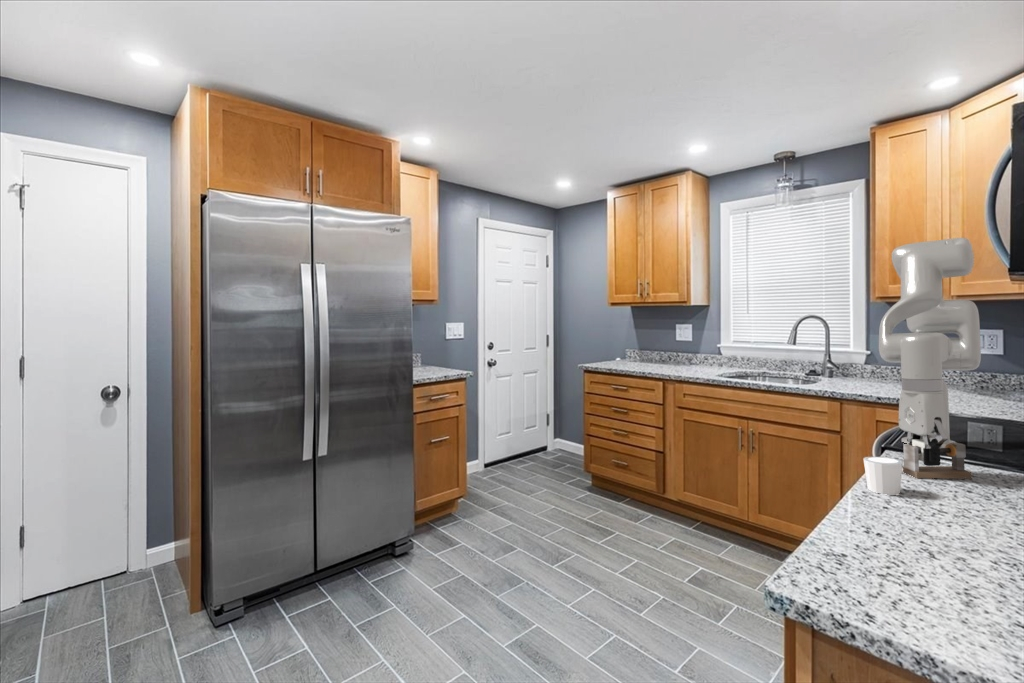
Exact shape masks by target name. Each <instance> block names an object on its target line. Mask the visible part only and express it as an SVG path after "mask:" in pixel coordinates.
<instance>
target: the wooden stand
mask: <svg viewBox="0 0 1024 683" xmlns="http://www.w3.org/2000/svg"><path fill="white" fill-rule="evenodd" d="M902 444H903V445H902V446H903V466H902V473H903V472H904V473H903V474H905V473H906V474H905V475H907V474H909V475H911V476H910V477H912V476H913V477H912V478H914V477H915V478H914V479H916V478H928V479H929V480H931V479H932V478H933V480H934V478H943V479H945V478H946V480H947V479H949V478H953V479H957V478H958V479H960V480H961V479H964V478H965V479H967V480H968V479H971V480H972V472H971V471H969V470H967V469H966V468H965V458H966V457H967V455H966V452H967V451H966V444H964V443H961V442H956V443H950V444H947V445H946V446H945V448H941V449H940V454H946V455H947V456H948V457H951V466H949V465H948V466H946V465H945V466H942V465H941V466H940V465H939V466H920V465H919V463H920V462H919V461H920V460H919V458H918V453H921V448H918V447H915V446H912V445H909V444H904V443H902ZM909 475H908V476H909ZM928 479H927V480H928ZM958 479H957V480H958ZM949 480H950V479H949Z"/></svg>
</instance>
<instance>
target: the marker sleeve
mask: <svg viewBox="0 0 1024 683" xmlns="http://www.w3.org/2000/svg"><path fill="white" fill-rule="evenodd" d="M912 446H915V447H918V448H921V453H918V458H919V461H921V462H923V463H924V456H923V448H926V447H925V442H924V440H923V439H913V440H912Z"/></svg>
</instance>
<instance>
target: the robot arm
mask: <svg viewBox="0 0 1024 683" xmlns="http://www.w3.org/2000/svg"><path fill="white" fill-rule="evenodd" d="M973 250H974V249H973V246H972V242H970V240H969V239H968V238H965V237H953V238H946V239H945V238H944V239H937V240H928V241H927V240H926V241H921V242H920V241H919V242H913V243H907V244H903V245H900V246H897V247H895V248H894V249H893V250H892V252H891V262H892V265H893V268H894V270H895V272H896V274H897V276H898V278H899V279H900V298H899V300H898V301H897V302H896V303H894V304H893V305H892V306H891V307H890V308H889V309H888V310H887V311H886V312H885V314H884V315H883V317H882V318H881V321H880V324H879V329H878V330H879V331H878V332H879V333H878V351H879V352H878V353H879V356H880V357H881V359H882V360H883V361H884V362H887V363H891V364H892V363H897V364H898V363H900V368H901V369H900V371H901V373H900V374H901V375H900V377H901V392H900V395H899V396H900V397H899V404H898V427H899V429H900V430H902V431H903V432H904V434H905V437H902V438H901V443H902V442H904V443H907V444H909V445H912V440H913V439H923V440H924V442H925V447H926V448H923V456H924V462H923V465H924V466H925V467H927V466H940V465H941V453H940V449H941V448H945V446H946V445H947V444H950V443H957V442H956V441H955V440H951V439H950V434H951V433H950V410H949V409H950V408H949V406H950V405H949V404H950V402H949V388H948V384H947V382H946V381H945V380H944V379H943V372H945V371H949V372H950V371H951V372H956V371H957V372H961V371H962V372H963V371H965V372H966V371H974V370H977V368H979V367H980V365H981V358H982V353H981V352H982V349H981V346H982V345H981V327H980V314H979V308H978V306H977V305H976V303H975V302H974V301H972V300H968V299H949V300H948V299H947V300H946V299H944V296H943V295H944V294H943V279H944V278H945V279H946V278H958V277H966V276H968V275H969V274H970V273H972V271H973V267H974V264H975V263H974V262H975V260H974V259H975V257H974V251H973ZM905 320H906V326H907V329H908V330H909V331H910V332H907V333H906V332H904V333H903V332H899V333H893V330H894V328H895V327H896V326H897V325H899V324H900V323H901V322H903V321H905ZM946 334H956V335H957V336H958V337H948V336H947V335H946ZM904 443H903V444H904Z"/></svg>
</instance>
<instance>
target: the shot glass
mask: <svg viewBox="0 0 1024 683" xmlns="http://www.w3.org/2000/svg"><path fill="white" fill-rule="evenodd" d="M863 465H864V472H865V479H866V486H867V490H868V489H869V490H871V491H873V492H876V493H881V494H887V495H896V494H899V493H900V494H901V485H902V475H903V474H902V473H903V461H902V460H900V459H897V458H892V457H886V456H864V457H863ZM900 494H899V495H900ZM887 495H886V496H887ZM896 496H897V495H896Z"/></svg>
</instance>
